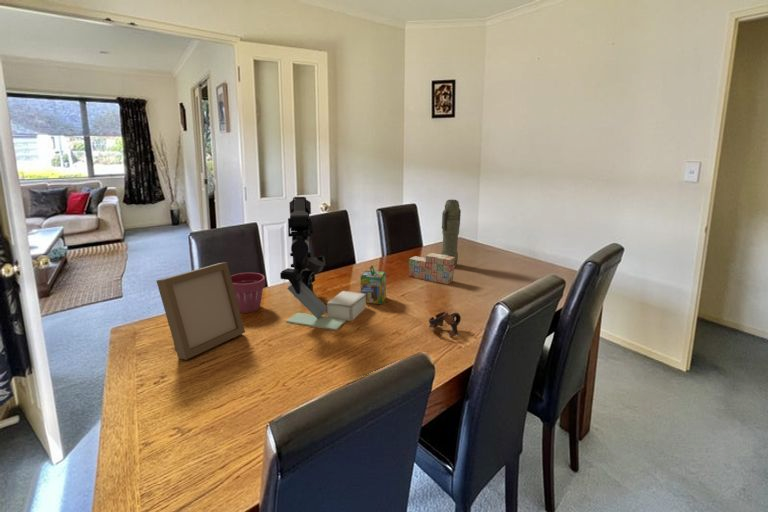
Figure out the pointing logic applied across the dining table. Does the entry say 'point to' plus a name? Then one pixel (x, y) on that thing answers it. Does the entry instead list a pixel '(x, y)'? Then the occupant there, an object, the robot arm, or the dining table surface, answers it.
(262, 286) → the plant pot
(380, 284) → the green product box
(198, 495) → the dining table surface
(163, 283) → the photo frame
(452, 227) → the dark grey statuette
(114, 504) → the dining table surface
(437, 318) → the dark looped figurine
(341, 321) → the felt pad
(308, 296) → the grey blank
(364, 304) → the gray cuboid case
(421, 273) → the stack of blocks
